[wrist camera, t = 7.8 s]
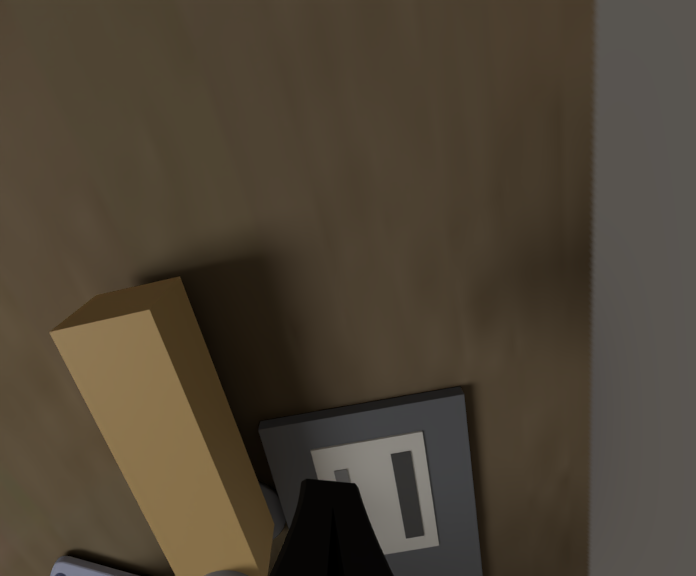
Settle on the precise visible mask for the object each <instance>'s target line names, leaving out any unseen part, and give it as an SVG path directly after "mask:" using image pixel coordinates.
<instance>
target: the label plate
mask: <svg viewBox="0 0 696 576" xmlns="http://www.w3.org/2000/svg"><path fill="white" fill-rule="evenodd" d="M258 431H259V434H260V438H261V441H262V444H263V447H264V451H265V454H266V457H267V460H268V464H269V467H270V470H271V473H272V476H273V480H274V483H275V486H276V489H277V491H276V490H274V489H273V488H272V487H270V486H268V485H266V484H264V483H261V482H259V485H260V488H261V490H262V493H263V496H264V498H265V501H266V503H267V506H268V509H269V511H270V514H271V516H272V519H273V522H274V532H273V539H274V538H275V537H277V536H278V535H279V534H280V532H281V531H282V530H283V528H284V525H285V522H287V525H288V528H289V529H290V526H291V523H292V520H293V517H294V514H295V511H296V507H297V504H298V498H299V492H300V486H301V482H302V481H303V480H305V479H317V480H327V481H337V482H347V483H355V484H356V485H357V486H358V488H359V491H360V495H361V498H362V501H363V504H364V507H365V510H366V512H367V515H368V518H369V520H370V523H371V525H372V528H373V530H374V533H375V535H376V538H377V540H378V542H379V545H380V547H381V549H382V551H383V553H384V556H385V558H386V560H387V562H388V564H389V567H390V569H391V571H392V573H393V575H394V576H483V574H482V564H481V555H480V545H479V535H478V525H477V516H476V506H475V496H474V486H473V477H472V467H471V457H470V447H469V438H468V428H467V418H466V408H465V398H464V393H463V391H462V389H461V387H454V388H448V389H443V390H437V391H431V392H425V393H420V394H414V395H408V396H402V397H397V398H391V399H385V400H380V401H374V402H368V403H362V404H357V405H351V406H345V407H339V408H334V409H328V410H322V411H316V412H311V413H305V414H299V415H293V416H288V417H282V418H276V419H271V420H265V421H260V424H259V429H258ZM273 539H272V540H273Z"/></svg>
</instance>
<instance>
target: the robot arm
mask: <svg viewBox="0 0 696 576" xmlns="http://www.w3.org/2000/svg"><path fill="white" fill-rule="evenodd" d="M50 576H139V575H135V574H132V573H128V572H125V571H121V570H117V569H114V568H110V567H107V566H103V565H99V564H96V563H92V562H89V561H85V560H82V559H78V558H74V557H71V556H62V557H60V558H58V560H57V561H56V563H55V564H54V566H53V569H52V572H51V574H50ZM269 576H394V575H393V573H392V571H391V569H390V567H389V564H388V562H387V560H386V558H385V556H384V553H383V551H382V549H381V547H380V545H379V542H378V540H377V538H376V535H375V533H374V530H373V528H372V525H371V523H370V520H369V518H368V515H367V512H366V510H365V507H364V504H363V501H362V498H361V495H360V491H359V488H358V486H357V485H356V484H355V483H347V482H337V481H327V480H317V479H305V480H303V481H302V482H301V486H300V492H299V498H298V504H297V507H296V511H295V514H294V517H293V520H292V523H291V526H290V529H289V531H288V534H287V536H286V539H285V541H284V544H283V546H282V549H281V551H280V554H279V556H278V558H277V561H276V563H275V565H274V567H273V569H272V571H271V573H270V575H269Z"/></svg>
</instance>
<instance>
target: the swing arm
mask: <svg viewBox="0 0 696 576" xmlns="http://www.w3.org/2000/svg"><path fill="white" fill-rule="evenodd" d="M49 333H50V334H51V336H52V338H53V340H54V342H55V344H56V346H57V348H58V350H59V352H60V354H61V356H62V358H63V360H64V361H65V363H66V365H67V367H68V369H69V371H70V373H71V375H72V377H73V379H74V381H75V383H76V385H77V387H78V388H79V390H80V392H81V394H82V396H83V398H84V400H85V402H86V404H87V406H88V408H89V410H90V412H91V414H92V415H93V417H94V419H95V421H96V423H97V425H98V427H99V429H100V431H101V433H102V435H103V437H104V439H105V441H106V442H107V444H108V446H109V448H110V450H111V452H112V454H113V456H114V458H115V460H116V462H117V464H118V466H119V468H120V469H121V471H122V473H123V475H124V477H125V479H126V481H127V483H128V485H129V487H130V489H131V491H132V493H133V495H134V496H135V498H136V500H137V502H138V504H139V506H140V508H141V510H142V512H143V514H144V516H145V518H146V520H147V522H148V523H149V525H150V527H151V529H152V531H153V533H154V535H155V537H156V539H157V541H158V543H159V545H160V547H161V549H162V550H163V552H164V554H165V556H166V558H167V560H168V562H169V564H170V566H171V568H172V570H173V572H174V574H175V576H268V570H269V562H270V554H271V547H272V539H273V532H274V522H273V519H272V516H271V514H270V511H269V509H268V506H267V503H266V501H265V498H264V496H263V493H262V490H261V488H260V485H259V482H258V480H257V477H256V475H255V472H254V469H253V467H252V464H251V461H250V459H249V456H248V454H247V451H246V448H245V446H244V443H243V441H242V438H241V435H240V433H239V430H238V427H237V425H236V422H235V420H234V417H233V414H232V412H231V409H230V406H229V404H228V401H227V399H226V396H225V393H224V391H223V388H222V385H221V383H220V380H219V378H218V375H217V372H216V370H215V367H214V365H213V362H212V359H211V357H210V354H209V351H208V349H207V346H206V344H205V341H204V338H203V336H202V333H201V330H200V328H199V325H198V323H197V320H196V317H195V315H194V312H193V309H192V307H191V304H190V302H189V299H188V296H187V294H186V291H185V288H184V286H183V283H182V281H181V278H180V276H179V277H175V278H170V279H166V280H161V281H157V282H153V283H148V284H144V285H139V286H135V287H131V288H126V289H122V290H117V291H113V292H109V293H104V294H100V295H96V296H95V297H93V298H92V299H91V300H90V301H88V302H87V303H86V304H84V305H83V306H82V307H81V308H79V309H78V310H77V311H76V312H74V313H73V314H72V315H70V316H69V317H68V318H67V319H65V320H64V321H63V322H62V323H60V324H59V325H58V326H56V327H55V328H54V329H53V330H51V331H50V332H49Z"/></svg>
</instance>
